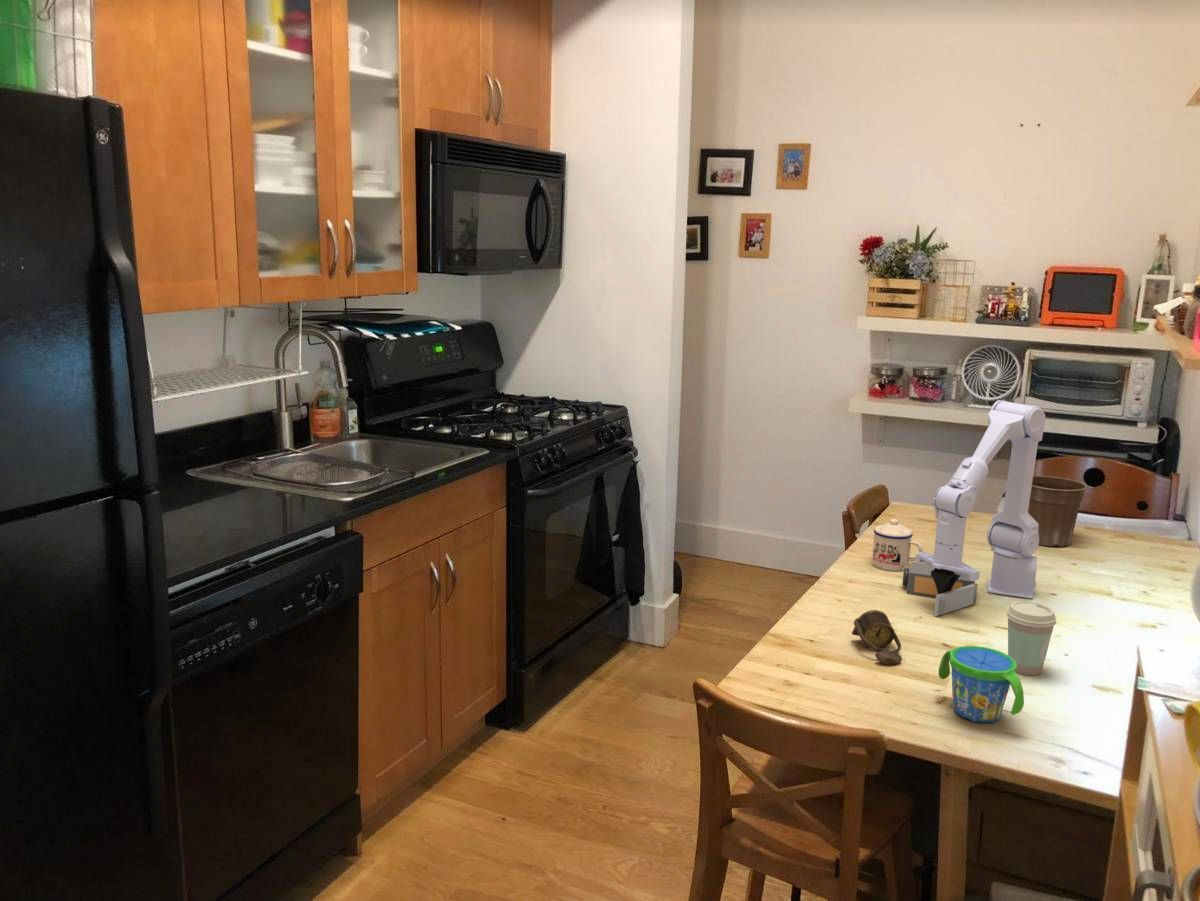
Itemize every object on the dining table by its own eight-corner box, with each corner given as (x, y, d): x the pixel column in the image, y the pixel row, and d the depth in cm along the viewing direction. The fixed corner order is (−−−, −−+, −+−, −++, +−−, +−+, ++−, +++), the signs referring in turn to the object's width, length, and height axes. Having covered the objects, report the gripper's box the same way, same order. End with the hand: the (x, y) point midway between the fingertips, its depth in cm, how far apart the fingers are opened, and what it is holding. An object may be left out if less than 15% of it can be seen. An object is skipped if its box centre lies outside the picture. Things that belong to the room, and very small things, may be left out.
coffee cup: (1045, 682, 180) (1053, 621, 177) (996, 671, 184) (1003, 610, 182) (1052, 666, 187) (1060, 606, 184) (1005, 655, 191) (1012, 596, 189)
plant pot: (1021, 528, 276) (1028, 471, 273) (1084, 539, 267) (1092, 481, 263) (1006, 541, 263) (1013, 483, 260) (1072, 554, 254) (1080, 493, 250)
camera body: (973, 591, 226) (976, 568, 224) (972, 603, 218) (975, 579, 217) (904, 581, 231) (906, 558, 230) (900, 592, 224) (903, 569, 222)
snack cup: (1036, 729, 163) (1043, 672, 161) (987, 741, 159) (995, 682, 156) (966, 689, 177) (972, 636, 174) (920, 699, 172) (925, 644, 170)
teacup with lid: (865, 566, 241) (869, 520, 238) (878, 557, 248) (882, 512, 246) (914, 577, 234) (918, 530, 231) (926, 567, 241) (931, 521, 239)
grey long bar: (971, 601, 218) (973, 583, 217) (979, 604, 217) (981, 585, 216) (933, 614, 210) (935, 594, 210) (940, 617, 209) (942, 597, 208)
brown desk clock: (909, 617, 196) (859, 600, 198) (911, 636, 183) (858, 617, 186) (898, 650, 197) (848, 633, 199) (899, 671, 185) (846, 652, 187)
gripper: (909, 535, 214) (903, 595, 217) (967, 554, 202) (960, 617, 205) (929, 530, 218) (923, 589, 221) (988, 548, 206) (981, 610, 209)
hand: (943, 602), depth 213 cm, fingers closed
